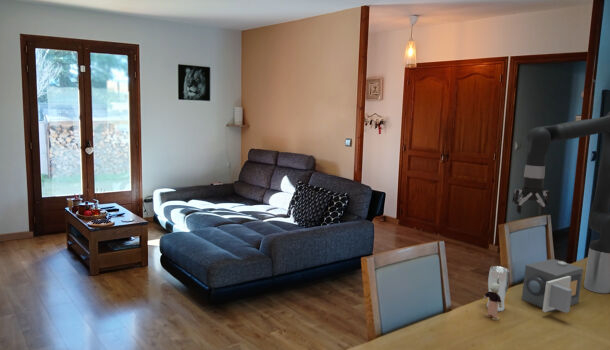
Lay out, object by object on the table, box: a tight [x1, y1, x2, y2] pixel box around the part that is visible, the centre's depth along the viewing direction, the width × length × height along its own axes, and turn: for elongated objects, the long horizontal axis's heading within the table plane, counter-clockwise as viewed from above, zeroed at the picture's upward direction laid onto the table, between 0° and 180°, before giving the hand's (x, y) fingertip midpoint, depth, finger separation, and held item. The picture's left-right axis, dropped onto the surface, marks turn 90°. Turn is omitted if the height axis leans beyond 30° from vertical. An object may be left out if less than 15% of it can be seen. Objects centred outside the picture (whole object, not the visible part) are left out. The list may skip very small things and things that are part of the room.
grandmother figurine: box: [483, 283, 502, 321], centre depth 160 cm, size 8×4×13 cm, turn 37°
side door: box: [542, 276, 572, 313], centre depth 162 cm, size 14×7×11 cm, turn 121°
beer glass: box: [486, 265, 510, 312], centre depth 167 cm, size 7×7×15 cm
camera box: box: [521, 258, 584, 313], centre depth 174 cm, size 21×12×15 cm, turn 121°
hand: (529, 214), depth 190 cm, fingers open, 8 cm apart
